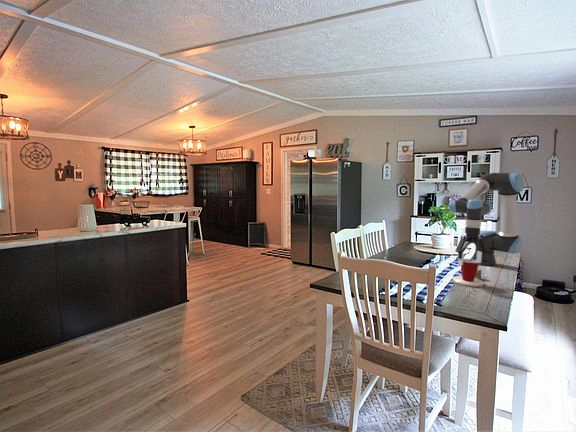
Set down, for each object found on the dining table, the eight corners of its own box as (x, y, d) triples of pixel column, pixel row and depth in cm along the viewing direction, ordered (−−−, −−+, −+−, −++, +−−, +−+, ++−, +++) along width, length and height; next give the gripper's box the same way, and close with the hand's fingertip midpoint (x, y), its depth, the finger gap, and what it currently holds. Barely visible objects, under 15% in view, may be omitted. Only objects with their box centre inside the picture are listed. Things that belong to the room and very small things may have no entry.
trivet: (466, 277, 207) (467, 275, 207) (490, 285, 192) (490, 283, 192) (446, 279, 202) (446, 277, 202) (468, 288, 187) (468, 285, 187)
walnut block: (472, 276, 210) (472, 268, 210) (480, 278, 206) (481, 270, 206) (468, 277, 207) (469, 269, 206) (477, 279, 203) (478, 271, 203)
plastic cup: (476, 278, 200) (478, 258, 199) (480, 284, 190) (482, 263, 189) (456, 276, 204) (458, 256, 202) (458, 281, 194) (460, 261, 192)
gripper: (483, 224, 201) (480, 260, 204) (450, 226, 192) (447, 263, 195) (495, 226, 194) (491, 263, 197) (461, 228, 185) (458, 266, 188)
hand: (469, 263), depth 196 cm, fingers open, 13 cm apart
